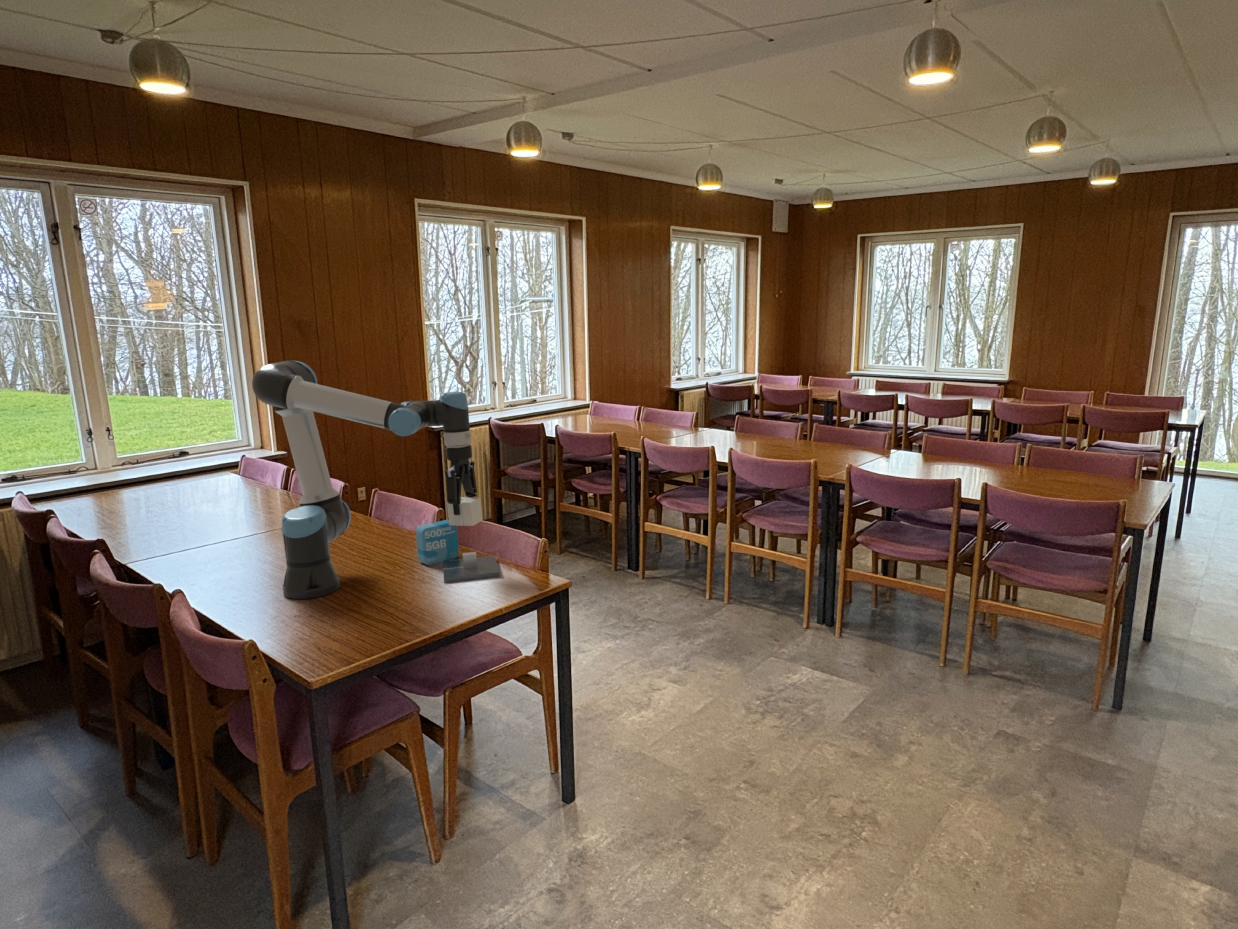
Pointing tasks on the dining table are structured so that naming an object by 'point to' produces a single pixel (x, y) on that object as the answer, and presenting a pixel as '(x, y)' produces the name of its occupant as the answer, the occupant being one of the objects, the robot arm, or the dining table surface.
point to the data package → (437, 542)
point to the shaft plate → (470, 568)
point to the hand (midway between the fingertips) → (465, 521)
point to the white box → (467, 511)
